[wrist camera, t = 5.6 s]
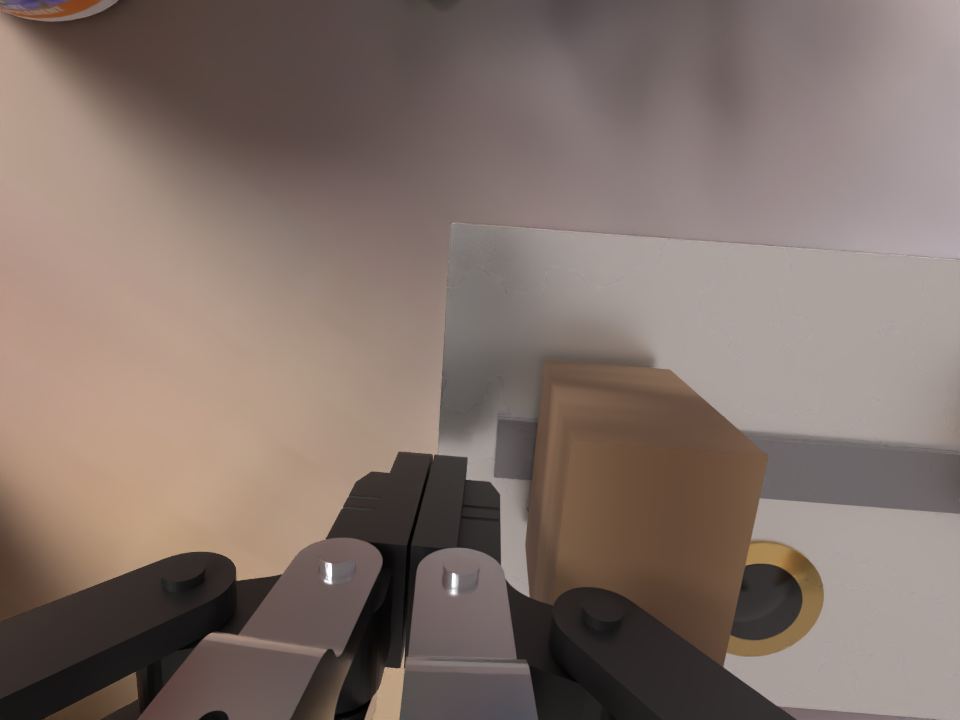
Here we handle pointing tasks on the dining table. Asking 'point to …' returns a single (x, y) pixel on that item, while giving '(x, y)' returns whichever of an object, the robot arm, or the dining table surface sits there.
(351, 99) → the dining table surface
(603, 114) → the dining table surface
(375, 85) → the dining table surface
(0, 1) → the pill bottle
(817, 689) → the plate
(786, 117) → the dining table surface
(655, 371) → the sliding block
